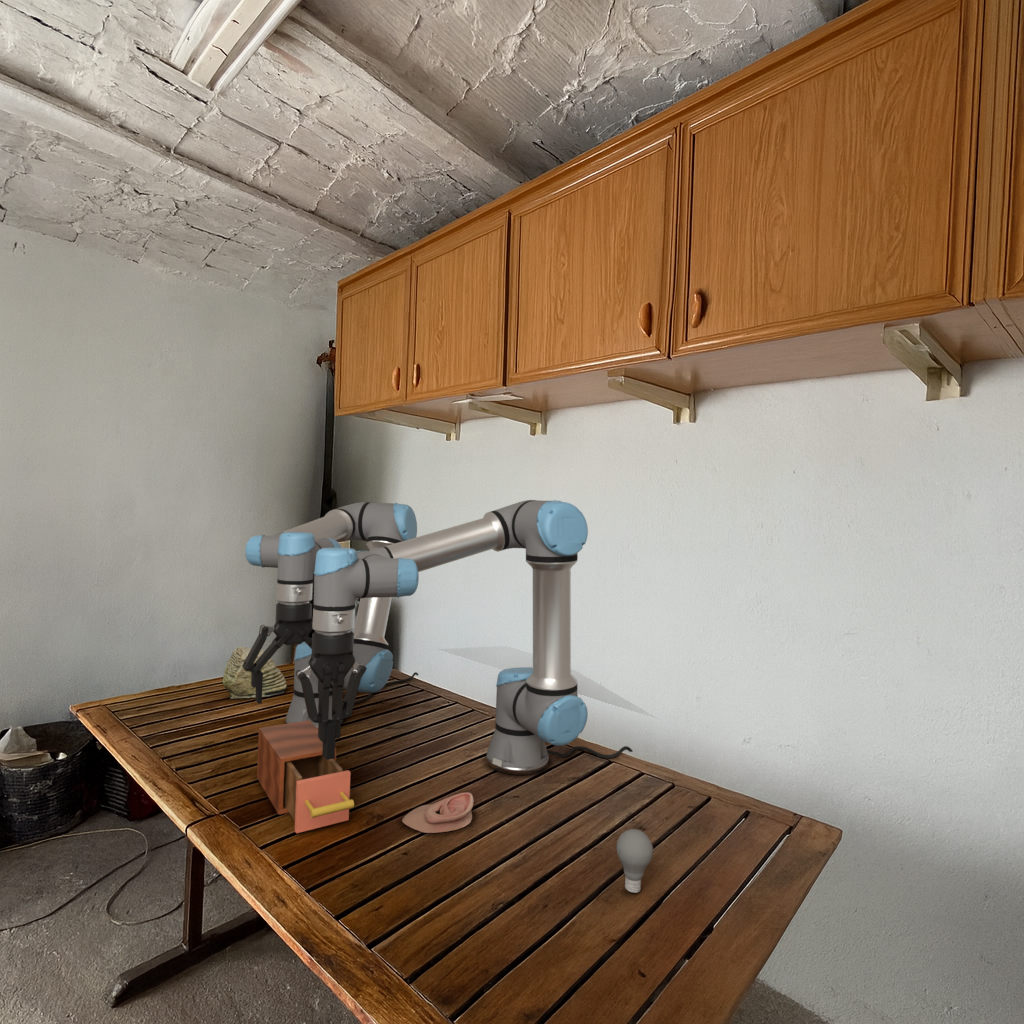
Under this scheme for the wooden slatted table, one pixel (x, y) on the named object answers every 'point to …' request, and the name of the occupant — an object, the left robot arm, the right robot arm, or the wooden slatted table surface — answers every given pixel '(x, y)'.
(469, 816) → the anatomical model
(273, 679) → the fossil
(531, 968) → the wooden slatted table surface
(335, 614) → the right robot arm
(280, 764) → the cabinet
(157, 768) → the wooden slatted table surface
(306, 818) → the drawer
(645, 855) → the light bulb
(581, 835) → the wooden slatted table surface
